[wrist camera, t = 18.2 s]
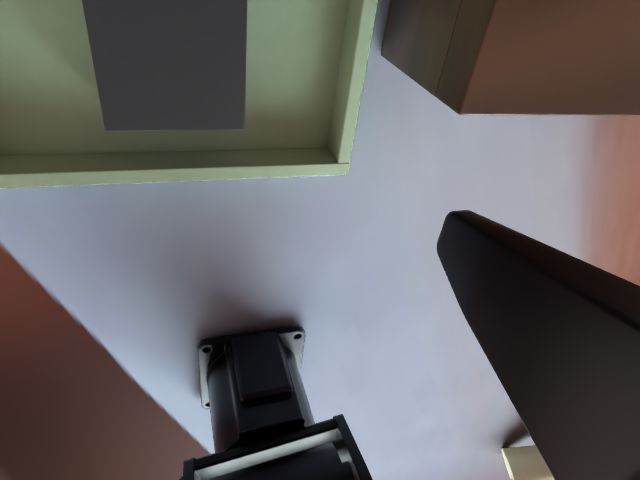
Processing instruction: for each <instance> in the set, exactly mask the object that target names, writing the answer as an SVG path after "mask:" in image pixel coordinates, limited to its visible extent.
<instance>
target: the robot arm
mask: <svg viewBox="0 0 640 480" xmlns="http://www.w3.org/2000/svg"><path fill="white" fill-rule="evenodd" d="M437 253H438V256H439V258H440V261H441V263H442V265H443V268H444V270H445V272H446V275H447V277H448V280H449V282H450V284H451V287H452V289H453V291H454V294H455V296H456V298H457V301H458V303H459V305H460V308H461V310H462V312H463V314H464V316H465V318H466V320H467V322H468V324H469V326H470V327H471V329H472V331H473V333H474V335H475V336H476V338H477V340H478V342H479V344H480V345H481V347H482V349H483V351H484V353H485V354H486V356H487V358H488V360H489V362H490V363H491V365H492V367H493V369H494V371H495V372H496V374H497V376H498V378H499V380H500V382H501V383H502V385H503V387H504V389H505V391H506V392H507V394H508V396H509V398H510V400H511V401H512V403H513V405H514V407H515V409H516V410H517V412H518V414H519V416H520V418H521V419H522V421H523V423H524V425H525V427H526V428H527V430H528V432H529V434H530V436H531V438H532V439H533V441H534V443H535V445H536V447H537V448H538V450H539V452H540V454H541V456H542V457H543V459H544V461H545V463H546V465H547V466H548V468H549V470H550V472H551V474H552V475H553V477H554V479H555V480H640V286H638V285H636V284H634V283H631V282H629V281H627V280H625V279H622V278H620V277H618V276H616V275H613V274H611V273H609V272H607V271H604V270H602V269H600V268H598V267H595V266H593V265H591V264H589V263H586V262H584V261H582V260H580V259H577V258H575V257H573V256H571V255H568V254H566V253H564V252H562V251H559V250H557V249H555V248H553V247H550V246H548V245H546V244H544V243H541V242H539V241H537V240H535V239H532V238H530V237H528V236H526V235H523V234H521V233H519V232H517V231H514V230H512V229H510V228H508V227H505V226H503V225H501V224H499V223H496V222H494V221H492V220H490V219H487V218H485V217H483V216H481V215H478V214H476V213H474V212H472V211H469V210H462V211H452V212H450V213H449V214H448V215H447V216H446V218H445V221H444V224H443V227H442V230H441V233H440V236H439V239H438V242H437ZM304 341H305V332H304V329H303V328H302V327H300V326H296V327H289V328H282V329H275V330H268V331H260V332H253V333H246V334H239V335H232V336H225V337H218V338H211V339H205V340H202V341H200V342H199V343H198V361H199V375H200V390H201V404H202V407H203V408H205V409H210V413H211V422H212V430H213V439H214V448H215V453H214V454H210V455H207V456H204V457H201V458H197V459H195V458H190V459H187V460H184V469H183V470H184V472H183V476H181V479H180V480H372V477H371V475H370V473H369V470H368V468H367V466H366V464H365V462H364V459H363V457H362V455H361V453H360V451H359V449H358V447H357V444H356V442H355V440H354V438H353V436H352V434H351V431H350V429H349V427H348V425H347V423H346V421H345V419H344V416H343V414H341V415H337V416H334V417H333V419H330V420H326V421H323V422H319V423H316V424H315V422H314V419H313V416H312V412H311V409H310V406H309V402H308V399H307V396H306V393H305V389H304V386H303V383H302V379H301V376H300V368H301V362H302V355H303V348H304ZM206 347H207V348H206Z"/></svg>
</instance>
